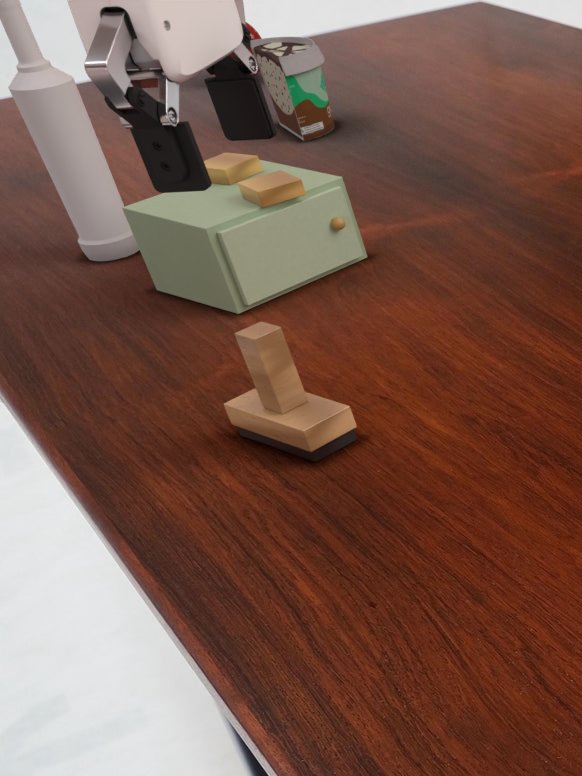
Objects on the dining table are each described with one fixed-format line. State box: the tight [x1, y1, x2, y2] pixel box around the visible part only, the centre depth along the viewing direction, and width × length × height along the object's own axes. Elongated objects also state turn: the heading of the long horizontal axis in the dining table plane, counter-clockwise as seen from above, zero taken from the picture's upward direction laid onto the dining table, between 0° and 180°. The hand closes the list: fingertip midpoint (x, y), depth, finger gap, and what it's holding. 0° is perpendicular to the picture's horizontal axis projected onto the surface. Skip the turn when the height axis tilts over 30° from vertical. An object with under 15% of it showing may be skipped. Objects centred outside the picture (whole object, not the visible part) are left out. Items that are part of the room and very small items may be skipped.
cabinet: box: [122, 159, 368, 315], centre depth 119 cm, size 14×14×8 cm
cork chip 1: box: [203, 151, 263, 185], centre depth 120 cm, size 4×4×2 cm
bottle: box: [0, 0, 140, 262], centre depth 120 cm, size 5×5×25 cm
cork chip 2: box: [238, 170, 306, 208], centre depth 115 cm, size 4×4×2 cm
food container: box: [251, 36, 335, 142], centre depth 157 cm, size 12×6×10 cm, turn 41°
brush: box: [223, 321, 358, 463], centre depth 93 cm, size 4×9×9 cm, turn 61°
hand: (220, 163), depth 81 cm, fingers open, 9 cm apart
